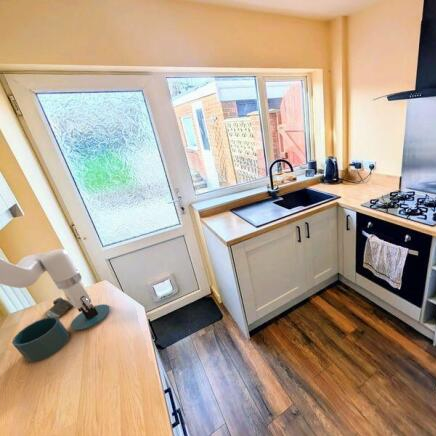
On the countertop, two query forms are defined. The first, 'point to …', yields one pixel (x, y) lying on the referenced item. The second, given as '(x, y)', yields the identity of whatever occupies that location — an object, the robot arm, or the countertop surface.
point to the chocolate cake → (58, 307)
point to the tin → (41, 339)
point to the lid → (84, 322)
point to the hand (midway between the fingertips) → (88, 312)
